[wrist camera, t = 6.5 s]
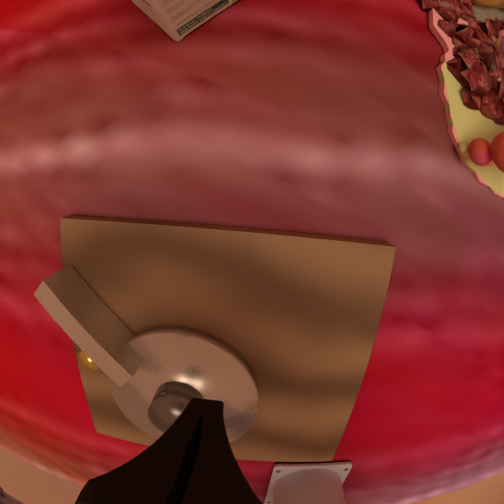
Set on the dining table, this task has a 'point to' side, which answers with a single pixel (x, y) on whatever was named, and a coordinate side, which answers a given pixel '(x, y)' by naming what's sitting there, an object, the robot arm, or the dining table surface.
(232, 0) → the syrup box
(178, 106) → the dining table surface
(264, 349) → the base board
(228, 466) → the robot arm
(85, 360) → the gold metal knob
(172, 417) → the lever handle
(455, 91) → the candy landscape model
